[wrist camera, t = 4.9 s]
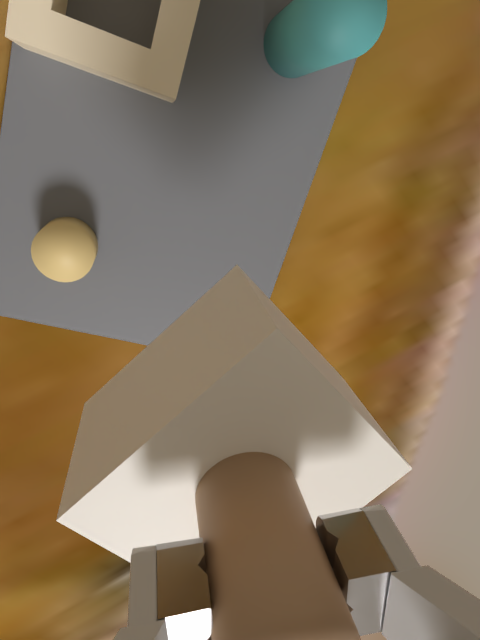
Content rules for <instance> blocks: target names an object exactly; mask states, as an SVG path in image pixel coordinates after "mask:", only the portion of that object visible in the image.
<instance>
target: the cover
mask: <svg viewBox="0 0 480 640" xmlns="http://www.w3.org/2000/svg"><path fill="white" fill-rule="evenodd" d="M410 470H412V468H411V466H410V465H409V464H408V462H407V461H406V460H405V459H404V457H403V456H402V455H401V453H400V452H399V451H398V449H397V448H396V447H395V445H394V444H393V443H392V442H391V440H390V439H389V438H388V436H387V435H386V434H385V432H384V431H383V430H382V429H381V427H380V426H379V425H378V423H377V422H376V421H375V419H374V418H373V417H372V416H371V414H370V413H369V412H368V410H367V409H366V408H365V406H364V405H363V404H362V402H361V401H360V400H359V399H358V397H357V396H356V395H355V393H354V392H353V391H352V389H351V388H350V387H349V386H348V384H347V383H346V382H345V380H344V379H343V378H342V376H341V375H340V374H339V373H338V372H337V371H336V370H335V369H334V368H333V367H332V366H331V365H330V364H329V362H328V361H327V360H326V359H325V358H324V357H323V356H322V355H321V354H320V353H319V352H318V351H317V350H316V348H315V347H314V346H313V345H312V344H311V343H310V342H309V341H308V340H307V339H306V338H305V337H304V336H303V335H302V333H301V332H300V331H299V330H298V329H297V328H296V327H295V326H294V325H293V324H292V323H291V322H290V321H289V320H288V318H287V317H286V316H285V315H284V314H283V313H282V312H281V311H280V310H279V309H278V308H277V307H276V306H275V305H274V303H273V302H272V301H271V300H270V299H269V298H268V297H267V296H266V295H265V294H264V293H263V292H262V291H261V290H260V288H259V287H258V286H257V285H256V284H255V283H254V282H253V281H252V280H251V279H250V278H249V277H248V276H247V275H246V273H245V272H244V271H243V270H242V269H241V268H240V267H239V266H238V265H236V266H235V267H234V268H233V269H232V270H230V271H229V272H228V273H227V274H226V275H225V276H224V277H223V278H222V279H221V280H219V281H218V282H217V283H216V284H215V285H214V286H213V287H212V288H211V289H210V290H208V291H207V292H206V293H205V294H204V295H203V296H202V297H201V298H200V299H199V300H198V301H196V302H195V303H194V304H193V305H192V306H191V307H190V308H189V309H188V310H187V311H185V312H184V313H183V314H182V315H181V316H180V317H179V318H178V319H177V320H176V321H174V322H173V323H172V324H171V325H170V326H169V327H168V328H167V329H166V330H165V331H163V332H162V333H161V334H160V335H159V336H158V337H157V338H156V339H155V340H154V341H152V342H151V343H150V344H149V345H148V346H147V347H146V348H145V349H144V350H143V351H142V352H140V353H139V354H138V355H137V356H136V357H135V358H134V359H133V360H132V361H131V362H129V363H128V364H127V365H126V366H125V367H124V368H123V369H122V370H121V371H120V372H118V373H117V374H116V375H115V376H114V377H113V378H112V379H111V380H110V381H109V382H107V383H106V384H105V385H104V386H103V387H102V388H101V389H100V390H99V391H98V392H97V393H95V394H94V395H93V396H92V397H91V398H90V399H89V400H88V401H87V402H86V403H85V404H84V408H83V412H82V416H81V421H80V425H79V429H78V433H77V437H76V441H75V445H74V449H73V453H72V458H71V462H70V466H69V470H68V474H67V478H66V482H65V486H64V491H63V495H62V499H61V503H60V507H59V511H58V515H57V519H56V521H58V522H59V523H61V524H63V525H65V526H66V527H68V528H70V529H72V530H74V531H75V532H77V533H79V534H81V535H82V536H84V537H86V538H88V539H89V540H91V541H93V542H95V543H97V544H98V545H100V546H102V547H104V548H105V549H107V550H109V551H111V552H113V553H114V554H116V555H118V556H120V557H121V558H123V559H125V560H127V561H128V562H130V563H131V554H132V550H133V548H138V547H144V546H150V545H156V544H162V543H168V542H175V541H182V540H188V539H195V538H202V537H203V545H204V552H205V561H206V574H207V576H208V585H209V593H210V602H211V611H212V620H213V628H212V633H211V640H361V639H360V635H359V633H358V630H357V628H356V625H355V623H354V620H353V618H352V615H351V613H350V611H349V608H348V606H347V603H346V601H345V598H344V596H343V594H342V591H341V589H340V586H339V584H338V581H337V579H336V577H335V574H334V572H333V569H332V567H331V564H330V562H329V560H328V557H327V555H326V552H325V550H324V547H323V545H322V542H321V540H320V538H319V535H318V533H317V530H316V519H317V517H318V516H319V515H325V514H330V513H335V512H340V511H345V510H350V509H355V508H358V509H359V508H362V507H364V506H365V505H366V504H367V503H369V502H370V501H371V500H373V499H374V498H375V497H377V496H378V495H379V494H380V493H382V492H383V491H384V490H386V489H387V488H388V487H389V486H391V485H392V484H393V483H395V482H396V481H397V480H399V479H400V478H401V477H402V476H404V475H405V474H406V473H408V472H409V471H410Z"/></svg>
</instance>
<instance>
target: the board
mask: <svg viewBox="0 0 480 640" xmlns="http://www.w3.org/2000/svg"><path fill="white" fill-rule="evenodd" d="M292 1H293V0H9V6H8V14H7V22H6V30H5V37H7V38H8V39H10V40H11V41H12V49H11V56H10V64H9V72H8V79H7V87H6V95H5V103H4V110H3V118H2V126H1V134H0V316H5V317H10V318H15V319H20V320H25V321H30V322H34V323H39V324H44V325H49V326H54V327H59V328H64V329H69V330H74V331H79V332H84V333H89V334H94V335H99V336H104V337H109V338H114V339H119V340H124V341H128V342H133V343H138V344H143V345H149V344H150V343H151V342H152V341H154V340H155V339H156V338H157V337H158V336H159V335H160V334H161V333H162V332H163V331H165V330H166V329H167V328H168V327H169V326H170V325H171V324H172V323H173V322H174V321H176V320H177V319H178V318H179V317H180V316H181V315H182V314H183V313H184V312H185V311H187V310H188V309H189V308H190V307H191V306H192V305H193V304H194V303H195V302H196V301H198V300H199V299H200V298H201V297H202V296H203V295H204V294H205V293H206V292H207V291H208V290H210V289H211V288H212V287H213V286H214V285H215V284H216V283H217V282H218V281H219V280H221V279H222V278H223V277H224V276H225V275H226V274H227V273H228V272H229V271H230V270H232V269H233V268H234V267H235V266H236V265H238V266H239V267H240V268H241V269H242V270H243V271H244V272H245V273H246V275H247V276H248V277H249V278H250V279H251V280H252V281H253V282H254V283H255V284H256V285H257V286H258V287H259V288H260V290H261V291H262V292H263V293H264V294H265V295H266V296H267V297H268V298H269V299H270V296H271V294H272V291H273V288H274V285H275V283H276V280H277V277H278V274H279V272H280V269H281V266H282V263H283V261H284V258H285V255H286V252H287V249H288V247H289V244H290V241H291V238H292V236H293V233H294V230H295V227H296V225H297V222H298V219H299V216H300V214H301V211H302V208H303V205H304V202H305V200H306V197H307V194H308V191H309V189H310V186H311V183H312V180H313V178H314V175H315V172H316V169H317V167H318V164H319V161H320V158H321V155H322V153H323V150H324V147H325V144H326V142H327V139H328V136H329V133H330V131H331V128H332V125H333V122H334V120H335V117H336V114H337V111H338V108H339V106H340V103H341V100H342V97H343V95H344V92H345V89H346V86H347V84H348V81H349V78H350V75H351V73H352V70H353V67H354V64H355V61H356V59H357V57H356V58H353V59H350V60H347V61H344V62H342V63H339V64H336V65H333V66H330V67H327V68H324V69H321V70H318V71H315V72H312V73H310V74H307V75H304V76H301V77H298V78H286V77H282V76H280V75H279V74H277V73H276V72H275V71H274V70H273V69H272V68H271V67H270V65H269V64H268V62H267V60H266V57H265V53H264V36H265V32H266V29H267V27H268V25H269V23H270V22H271V20H272V19H273V18H274V17H275V16H276V15H277V14H278V13H279V12H280V11H282V10H283V9H284V8H285V7H286V6H287V5H288V4H289V3H290V2H292Z"/></svg>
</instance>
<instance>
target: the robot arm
mask: <svg viewBox="0 0 480 640" xmlns="http://www.w3.org/2000/svg"><path fill="white" fill-rule="evenodd" d="M316 530H317V533H318V535H319V538H320V540H321V542H322V545H323V547H324V550H325V552H326V555H327V557H328V560H329V562H330V564H331V567H332V569H333V572H334V574H335V577H336V579H337V581H338V584H339V586H340V589H341V591H342V594H343V596H344V598H345V601H346V603H347V606H348V608H349V611H350V613H351V615H352V618H353V620H354V623H355V625H356V628H357V630H358V633H359V635H360V636H362V635H367V634H372V633H377V632H382V635H383V636H384V637H385V638H386V639H387V640H480V599H478V598H477V597H475V596H474V595H472V594H471V593H469V592H468V591H466V590H465V589H463V588H462V587H460V586H458V585H457V584H456V583H454V582H452V581H451V580H449V579H448V578H446V577H445V576H443V575H442V574H440V573H439V572H437V571H436V570H434V569H433V568H431V567H430V566H421V565H420V563H419V562H418V560H417V559H416V557H415V555H414V554H413V552H412V550H411V549H410V547H409V546H408V544H407V543H406V541H405V539H404V538H403V536H402V534H401V533H400V531H399V530H398V528H397V526H396V525H395V523H394V522H393V520H392V518H391V517H390V515H389V514H388V512H387V510H386V509H385V507H383V506H382V505H381V504H380V505H374V506H369V507H363V508H359V509H358V508H355V509H350V510H345V511H340V512H335V513H330V514H325V515H319V516H318V517H317V519H316ZM212 628H213V620H212V611H211V602H210V593H209V585H208V576H207V574H206V561H205V552H204V545H203V537H202V538H195V539H188V540H182V541H175V542H168V543H162V544H156V545H150V546H144V547H138V548H133V550H132V554H131V563H130V584H129V604H128V625H127V627H124V628H120V629H119V631H118V632H117V634H116V636H115V637H114V639H113V640H211V633H212Z"/></svg>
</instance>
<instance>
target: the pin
mask: <svg viewBox="0 0 480 640" xmlns="http://www.w3.org/2000/svg"><path fill="white" fill-rule="evenodd" d="M386 15H387V0H293V1H292V2H290V3H289V4H288V5H287V6H286V7H285V8H284V9H283V10H282V11H280V12H279V13H278V14H277V15H276V16H275V17H274V18H273V19H272V20H271V22H270V23H269V25H268V27H267V29H266V32H265V36H264V53H265V57H266V60H267V62H268V64H269V65H270V67H271V68H272V69H273V70H274V71H275V72H276V73H277V74H279V75H280V76H282V77H286V78H298V77H301V76H304V75H307V74H310V73H312V72H315V71H318V70H321V69H324V68H327V67H330V66H333V65H336V64H339V63H342V62H344V61H347V60H350V59H353V58H356V57H358V56H361V55H362V54H364V53H365V52H367V51H368V50H369V49H370V48H371V47H372V46H373V45H374V44H375V42H376V41H377V40H378V38H379V36H380V34H381V32H382V30H383V27H384V24H385V20H386Z"/></svg>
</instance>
